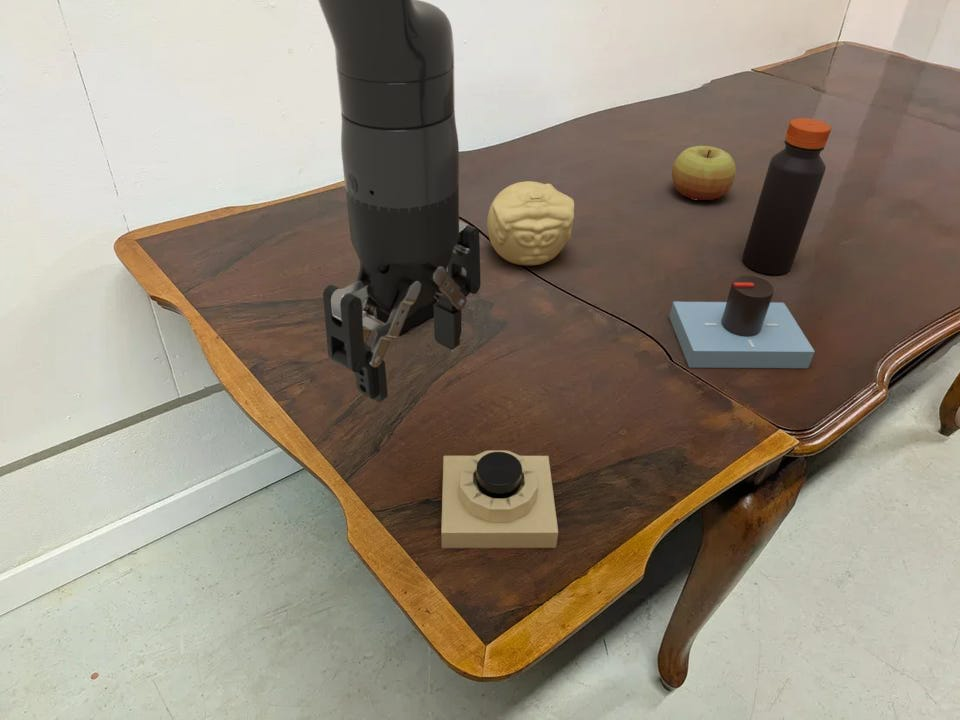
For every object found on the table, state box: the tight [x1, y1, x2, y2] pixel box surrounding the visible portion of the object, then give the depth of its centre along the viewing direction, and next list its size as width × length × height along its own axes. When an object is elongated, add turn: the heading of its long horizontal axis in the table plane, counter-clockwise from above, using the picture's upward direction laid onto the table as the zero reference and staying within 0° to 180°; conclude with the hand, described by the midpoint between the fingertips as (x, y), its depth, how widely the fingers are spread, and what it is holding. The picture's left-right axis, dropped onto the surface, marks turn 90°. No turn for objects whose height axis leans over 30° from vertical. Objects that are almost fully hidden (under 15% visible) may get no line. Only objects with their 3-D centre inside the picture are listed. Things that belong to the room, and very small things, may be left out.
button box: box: [440, 449, 559, 549], centre depth 64 cm, size 10×9×4 cm
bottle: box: [741, 117, 832, 276], centre depth 94 cm, size 7×7×20 cm
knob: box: [721, 275, 775, 336], centre depth 83 cm, size 5×5×6 cm
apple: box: [671, 145, 737, 201], centre depth 115 cm, size 10×10×8 cm
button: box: [476, 452, 522, 498], centre depth 62 cm, size 4×4×2 cm
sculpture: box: [486, 180, 575, 267], centre depth 98 cm, size 12×12×11 cm
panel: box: [669, 301, 816, 369], centre depth 85 cm, size 14×10×3 cm
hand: (412, 368), depth 57 cm, fingers open, 8 cm apart
